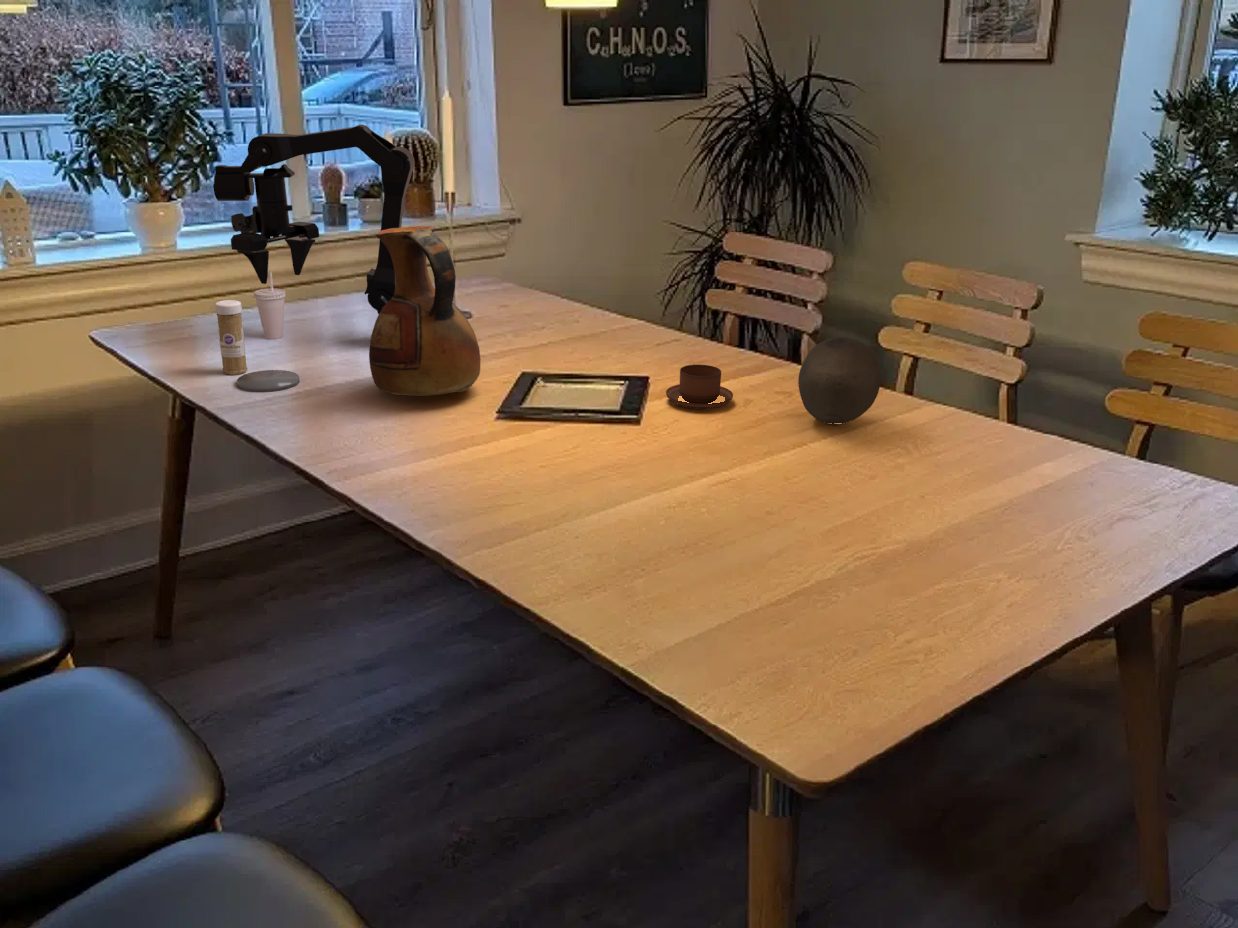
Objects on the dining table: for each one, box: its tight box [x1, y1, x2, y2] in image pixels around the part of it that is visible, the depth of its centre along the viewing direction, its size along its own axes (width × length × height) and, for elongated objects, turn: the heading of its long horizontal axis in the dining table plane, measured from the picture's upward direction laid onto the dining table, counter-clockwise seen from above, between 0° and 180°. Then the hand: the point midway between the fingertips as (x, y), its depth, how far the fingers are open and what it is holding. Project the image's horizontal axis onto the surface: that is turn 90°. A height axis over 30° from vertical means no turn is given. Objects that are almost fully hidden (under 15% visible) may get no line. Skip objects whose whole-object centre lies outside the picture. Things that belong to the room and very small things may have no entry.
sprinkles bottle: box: [214, 299, 248, 376], centre depth 209 cm, size 5×5×14 cm
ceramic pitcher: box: [368, 225, 481, 397], centre depth 196 cm, size 20×20×30 cm
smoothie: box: [253, 270, 286, 340], centre depth 232 cm, size 6×6×14 cm
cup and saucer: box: [665, 364, 734, 410], centre depth 199 cm, size 12×12×6 cm
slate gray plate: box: [236, 369, 300, 393], centre depth 205 cm, size 11×11×1 cm
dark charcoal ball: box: [797, 336, 882, 425], centre depth 187 cm, size 14×14×15 cm
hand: (280, 279), depth 225 cm, fingers open, 9 cm apart
